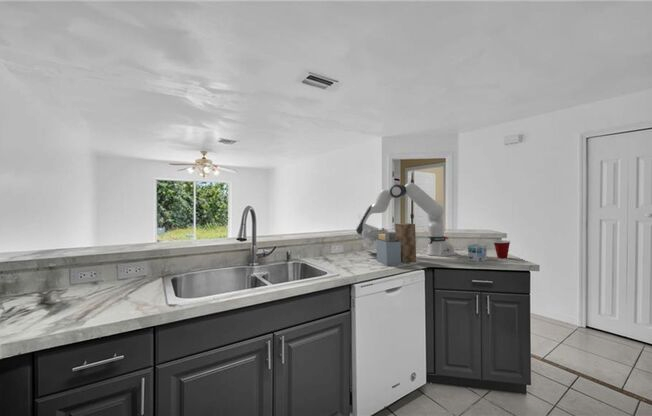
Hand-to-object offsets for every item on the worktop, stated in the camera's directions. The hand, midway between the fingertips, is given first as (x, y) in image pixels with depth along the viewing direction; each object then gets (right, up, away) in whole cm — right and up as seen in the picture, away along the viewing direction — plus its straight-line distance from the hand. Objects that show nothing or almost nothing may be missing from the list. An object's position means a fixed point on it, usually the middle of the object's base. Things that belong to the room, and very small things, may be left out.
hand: (377, 229), depth 214 cm
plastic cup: (+85, -19, -14) cm, 88 cm away
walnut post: (+17, -21, -16) cm, 31 cm away
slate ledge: (+4, -22, -18) cm, 28 cm away
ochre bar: (+3, -7, -16) cm, 18 cm away
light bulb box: (+65, -20, -20) cm, 70 cm away
